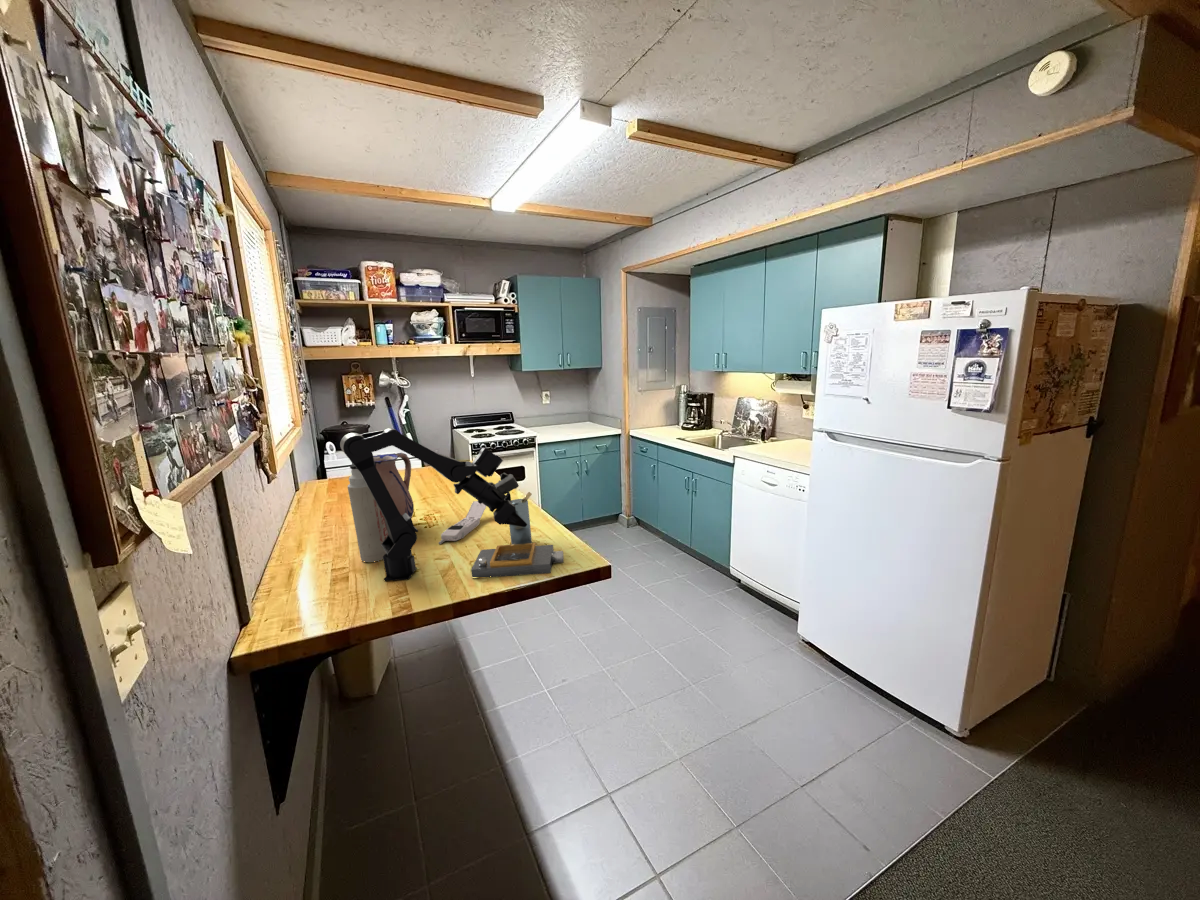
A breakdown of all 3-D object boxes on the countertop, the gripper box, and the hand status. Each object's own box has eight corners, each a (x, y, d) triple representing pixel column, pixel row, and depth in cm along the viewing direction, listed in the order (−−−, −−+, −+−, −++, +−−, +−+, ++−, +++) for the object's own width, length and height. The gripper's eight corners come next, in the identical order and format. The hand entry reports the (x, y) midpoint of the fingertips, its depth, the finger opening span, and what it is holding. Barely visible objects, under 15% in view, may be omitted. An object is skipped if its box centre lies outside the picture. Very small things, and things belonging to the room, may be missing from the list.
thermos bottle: (396, 551, 140) (381, 460, 134) (379, 563, 133) (362, 467, 127) (373, 550, 142) (357, 460, 136) (354, 562, 134) (336, 467, 128)
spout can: (512, 549, 137) (507, 498, 133) (510, 541, 142) (504, 492, 139) (538, 545, 139) (533, 494, 135) (535, 537, 144) (530, 488, 141)
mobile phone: (489, 500, 165) (451, 527, 141) (491, 516, 166) (454, 545, 142) (473, 500, 166) (433, 527, 142) (476, 516, 167) (436, 545, 144)
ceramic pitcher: (346, 540, 152) (332, 464, 146) (392, 516, 171) (381, 449, 166) (392, 543, 146) (378, 465, 141) (434, 519, 166) (423, 449, 161)
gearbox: (472, 578, 120) (470, 564, 120) (482, 558, 132) (480, 544, 131) (562, 572, 121) (561, 557, 120) (564, 552, 133) (563, 538, 132)
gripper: (502, 475, 125) (547, 508, 131) (496, 460, 143) (536, 490, 148) (475, 508, 125) (521, 540, 130) (472, 489, 142) (513, 518, 148)
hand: (523, 520), depth 139 cm, fingers open, 9 cm apart
